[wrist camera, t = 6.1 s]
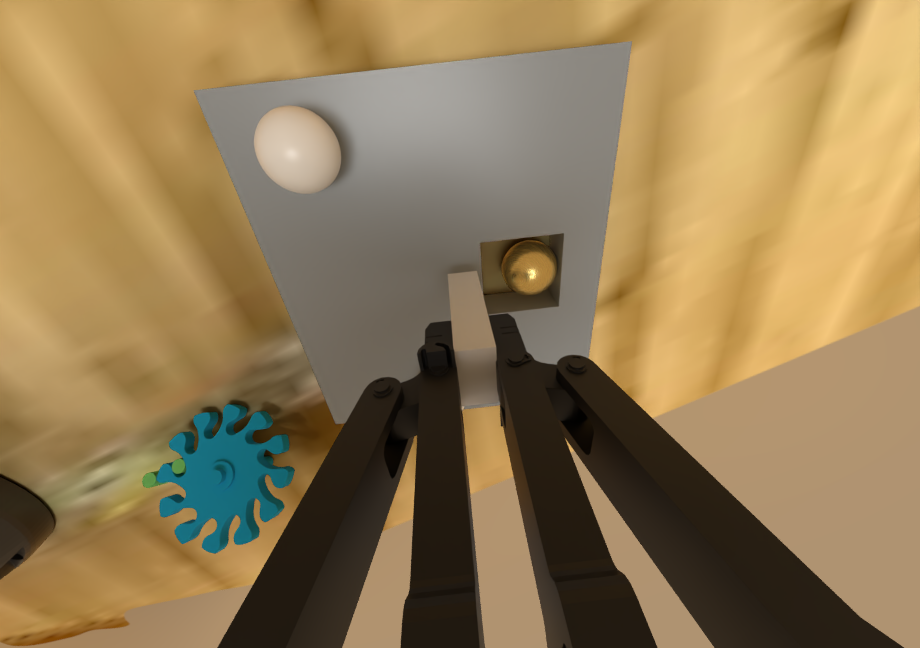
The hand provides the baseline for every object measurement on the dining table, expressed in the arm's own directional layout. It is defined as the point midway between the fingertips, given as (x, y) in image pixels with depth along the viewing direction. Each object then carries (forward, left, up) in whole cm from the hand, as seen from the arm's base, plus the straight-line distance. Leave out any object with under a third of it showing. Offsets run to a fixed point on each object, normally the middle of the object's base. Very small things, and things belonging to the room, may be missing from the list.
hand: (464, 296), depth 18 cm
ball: (+4, 0, -3) cm, 5 cm away
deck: (-1, 0, -4) cm, 4 cm away
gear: (-19, -13, -4) cm, 23 cm away
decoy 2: (-6, +7, 0) cm, 10 cm away
